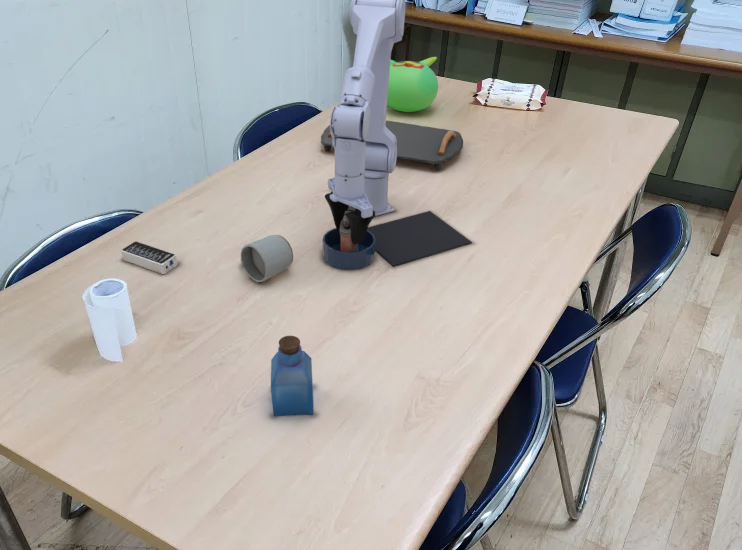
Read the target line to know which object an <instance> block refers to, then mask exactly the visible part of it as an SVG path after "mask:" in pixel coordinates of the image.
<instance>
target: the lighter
mask: <svg viewBox="0 0 742 550" xmlns="http://www.w3.org/2000/svg"><path fill="white" fill-rule="evenodd" d="M352 211H355V208H354V207H351V206H349V208H348V210H347V211H345V214H344V218H343V219H342V221H341V224H340V234H341V251H342V252H356V251H358V244H353V242H352V238H351V228H350V224H349V221H348V219H347V217H346V213H348V212H352Z"/></svg>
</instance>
